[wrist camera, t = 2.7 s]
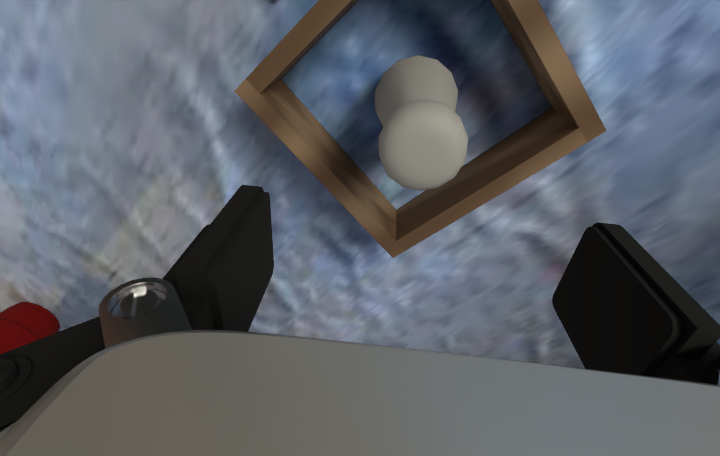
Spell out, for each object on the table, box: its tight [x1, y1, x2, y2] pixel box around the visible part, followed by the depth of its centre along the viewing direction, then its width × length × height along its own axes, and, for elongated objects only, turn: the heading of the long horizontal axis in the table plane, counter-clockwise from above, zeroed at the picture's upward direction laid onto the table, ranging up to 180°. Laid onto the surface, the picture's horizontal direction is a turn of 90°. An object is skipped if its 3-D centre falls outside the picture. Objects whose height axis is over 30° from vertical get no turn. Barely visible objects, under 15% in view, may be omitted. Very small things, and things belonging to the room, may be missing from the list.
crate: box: [235, 0, 606, 258], centre depth 26 cm, size 17×17×5 cm
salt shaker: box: [375, 55, 468, 191], centre depth 22 cm, size 6×6×13 cm
